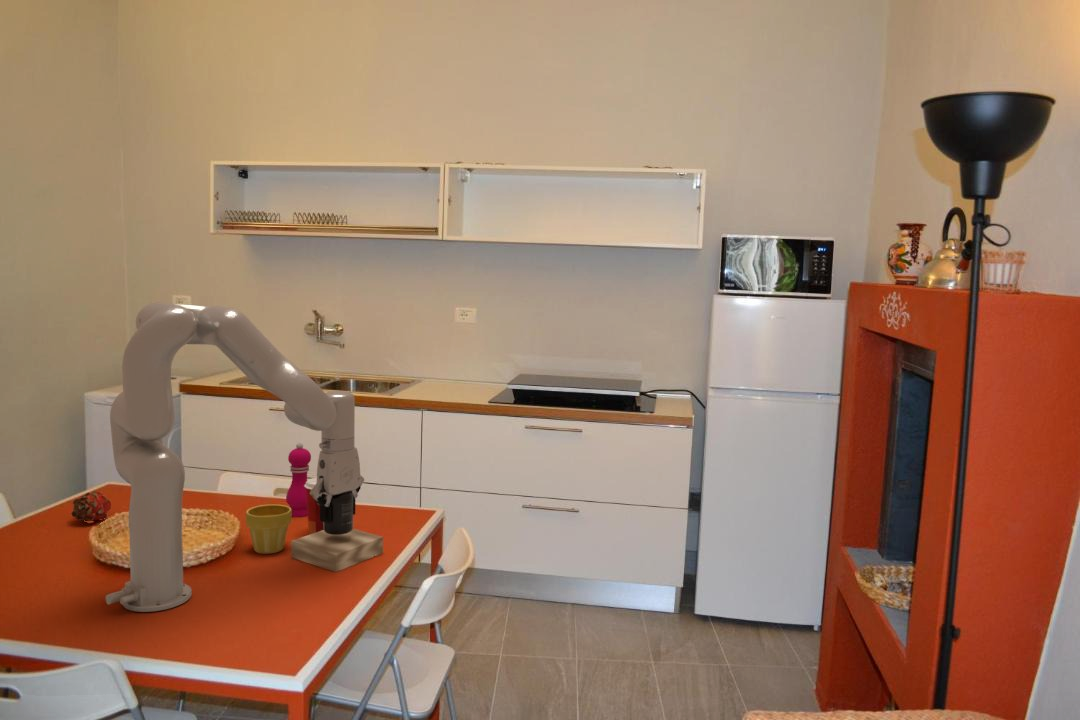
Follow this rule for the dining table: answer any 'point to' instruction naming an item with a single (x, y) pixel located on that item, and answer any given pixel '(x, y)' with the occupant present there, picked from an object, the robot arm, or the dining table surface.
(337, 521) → the supplement bottle
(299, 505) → the pepper mill
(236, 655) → the dining table surface
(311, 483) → the paper cup
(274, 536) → the plant pot
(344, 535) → the beech block
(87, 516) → the dragon fruit
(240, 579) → the dining table surface
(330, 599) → the dining table surface
